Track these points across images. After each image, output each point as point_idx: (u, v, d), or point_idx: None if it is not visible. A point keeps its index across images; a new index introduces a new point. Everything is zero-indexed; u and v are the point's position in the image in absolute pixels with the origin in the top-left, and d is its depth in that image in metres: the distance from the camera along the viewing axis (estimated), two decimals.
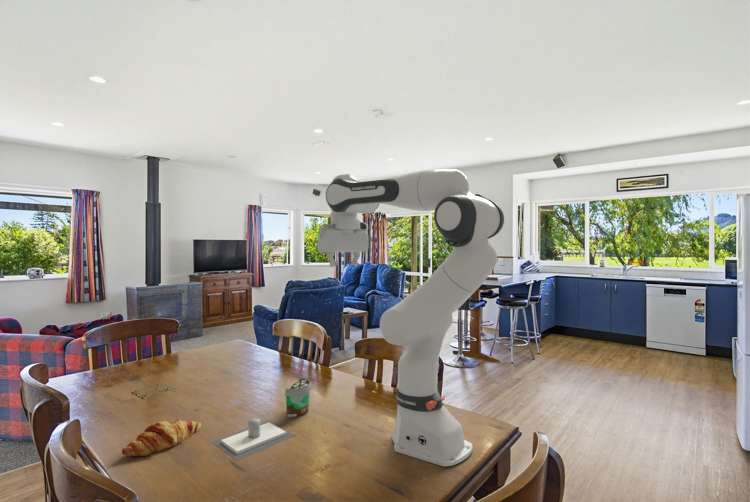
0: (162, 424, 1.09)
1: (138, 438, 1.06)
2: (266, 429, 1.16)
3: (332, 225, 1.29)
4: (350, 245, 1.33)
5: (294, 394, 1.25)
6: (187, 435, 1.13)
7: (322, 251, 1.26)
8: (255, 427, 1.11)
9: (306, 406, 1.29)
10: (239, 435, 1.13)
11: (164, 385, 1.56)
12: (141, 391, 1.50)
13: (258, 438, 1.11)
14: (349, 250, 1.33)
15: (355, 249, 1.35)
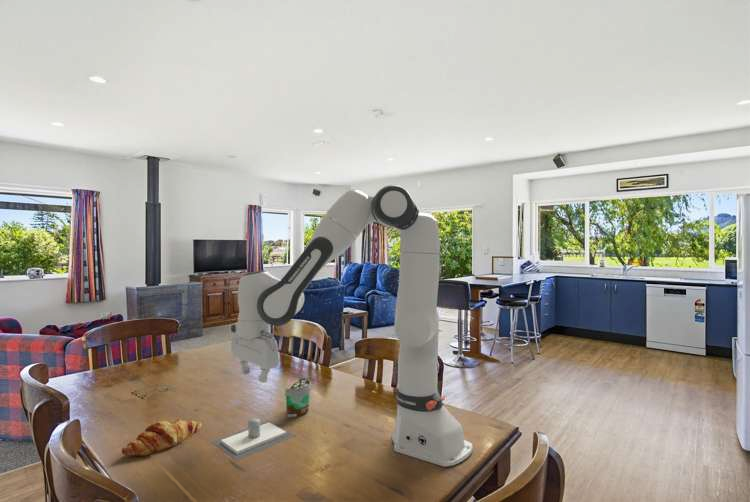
0: (162, 424, 1.09)
1: (138, 438, 1.06)
2: (266, 429, 1.16)
3: None
4: None
5: (294, 394, 1.25)
6: (187, 435, 1.13)
7: (274, 366, 1.06)
8: (255, 427, 1.11)
9: (306, 406, 1.29)
10: (239, 435, 1.13)
11: (164, 385, 1.56)
12: (141, 391, 1.50)
13: (258, 438, 1.11)
14: None
15: None
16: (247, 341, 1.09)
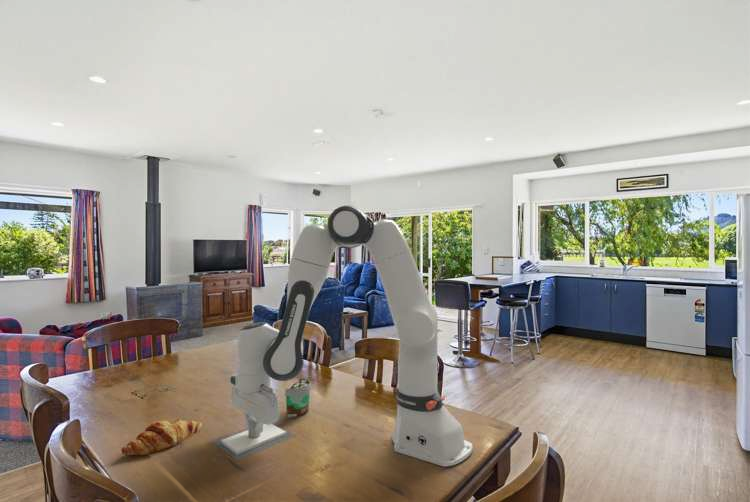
0: (162, 424, 1.09)
1: (138, 437, 1.07)
2: (266, 429, 1.16)
3: None
4: None
5: (294, 394, 1.25)
6: (187, 435, 1.13)
7: (275, 421, 1.06)
8: None
9: (306, 406, 1.29)
10: (239, 435, 1.13)
11: (164, 385, 1.56)
12: (141, 391, 1.50)
13: (258, 438, 1.11)
14: None
15: None
16: (247, 395, 1.09)
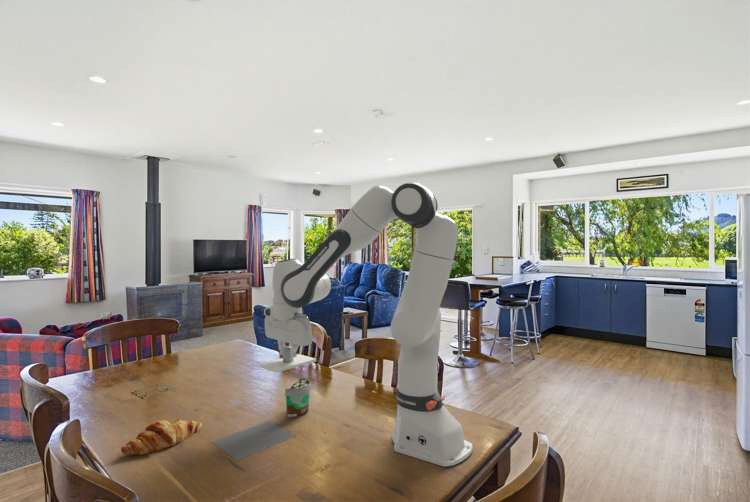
0: (162, 423, 1.10)
1: (138, 437, 1.07)
2: (298, 357, 1.28)
3: None
4: None
5: (294, 394, 1.25)
6: (187, 435, 1.13)
7: (309, 344, 1.18)
8: None
9: (306, 406, 1.29)
10: (274, 361, 1.24)
11: (164, 385, 1.56)
12: (141, 391, 1.50)
13: (292, 362, 1.23)
14: None
15: None
16: (282, 322, 1.21)
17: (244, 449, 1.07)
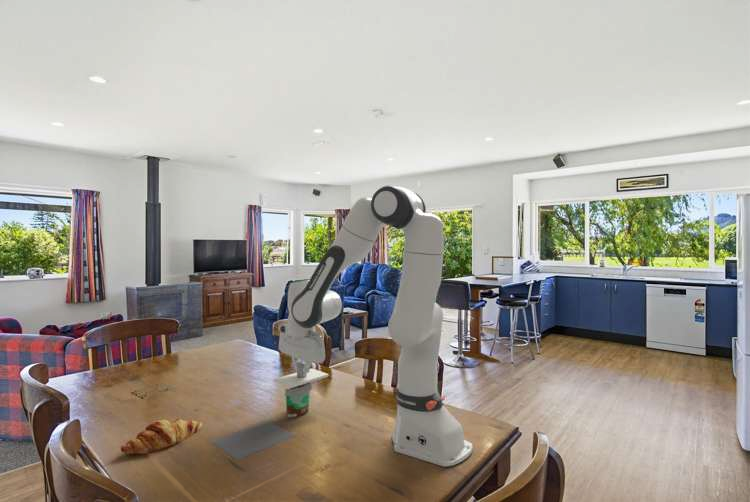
0: (161, 423, 1.10)
1: (138, 436, 1.07)
2: (311, 372, 1.34)
3: None
4: None
5: (294, 394, 1.25)
6: (187, 435, 1.13)
7: (322, 361, 1.24)
8: None
9: (306, 406, 1.29)
10: (288, 376, 1.31)
11: (164, 385, 1.56)
12: (141, 391, 1.50)
13: (306, 378, 1.29)
14: None
15: None
16: (297, 340, 1.27)
17: (244, 449, 1.07)
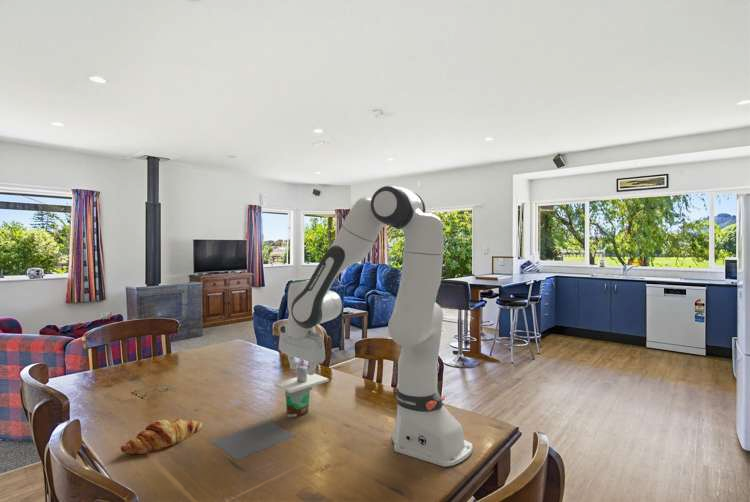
0: (161, 423, 1.10)
1: (138, 436, 1.07)
2: (311, 377, 1.34)
3: None
4: None
5: (294, 394, 1.25)
6: (187, 435, 1.13)
7: (322, 361, 1.24)
8: (303, 373, 1.29)
9: (306, 406, 1.29)
10: (289, 380, 1.31)
11: (164, 385, 1.56)
12: (141, 391, 1.50)
13: (306, 382, 1.29)
14: None
15: None
16: (297, 340, 1.27)
17: (244, 449, 1.07)
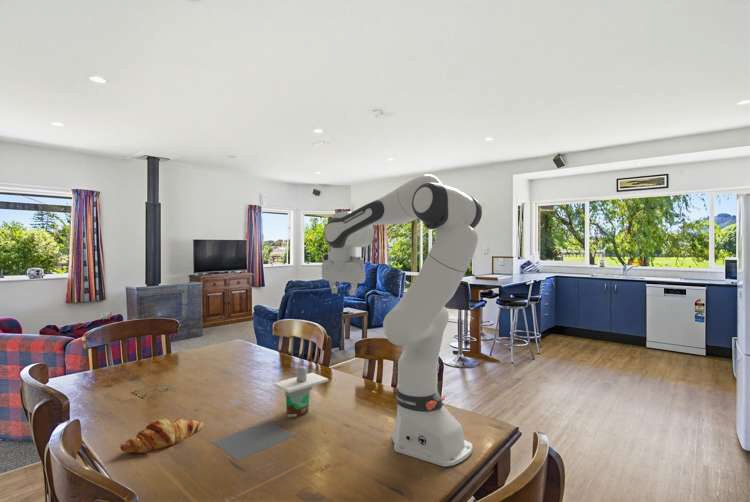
0: (161, 422, 1.10)
1: (138, 435, 1.08)
2: (311, 377, 1.34)
3: None
4: None
5: (294, 394, 1.25)
6: (187, 435, 1.13)
7: (362, 282, 1.40)
8: (302, 373, 1.29)
9: (306, 406, 1.29)
10: (288, 380, 1.31)
11: (164, 385, 1.56)
12: (141, 391, 1.50)
13: (305, 382, 1.29)
14: None
15: None
16: (339, 264, 1.43)
17: (244, 449, 1.07)
